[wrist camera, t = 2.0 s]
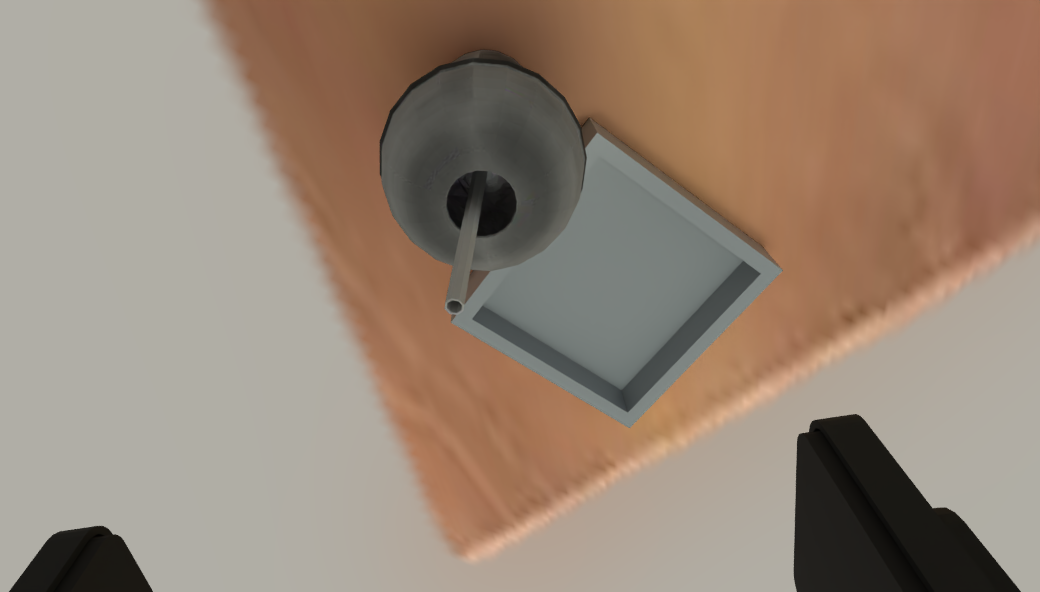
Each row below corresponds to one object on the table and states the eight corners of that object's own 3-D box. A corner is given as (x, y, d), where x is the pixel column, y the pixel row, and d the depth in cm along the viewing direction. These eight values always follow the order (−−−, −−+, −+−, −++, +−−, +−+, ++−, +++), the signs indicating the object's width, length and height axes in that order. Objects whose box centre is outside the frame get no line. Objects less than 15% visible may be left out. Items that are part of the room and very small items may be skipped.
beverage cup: (588, 72, 34) (689, 223, 17) (510, 193, 37) (525, 433, 19) (458, -14, 32) (417, 53, 15) (386, 121, 35) (277, 314, 17)
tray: (589, 117, 35) (597, 132, 33) (763, 247, 39) (782, 270, 36) (453, 296, 40) (450, 322, 37) (621, 397, 43) (629, 428, 41)
